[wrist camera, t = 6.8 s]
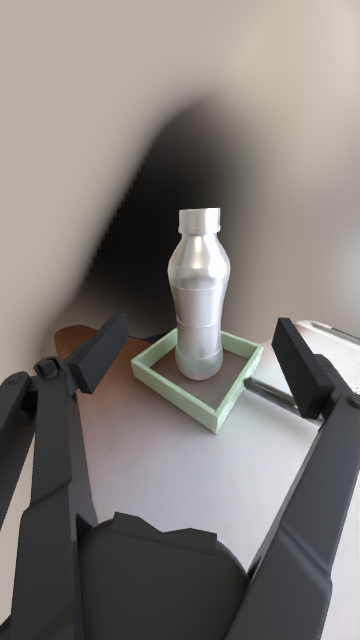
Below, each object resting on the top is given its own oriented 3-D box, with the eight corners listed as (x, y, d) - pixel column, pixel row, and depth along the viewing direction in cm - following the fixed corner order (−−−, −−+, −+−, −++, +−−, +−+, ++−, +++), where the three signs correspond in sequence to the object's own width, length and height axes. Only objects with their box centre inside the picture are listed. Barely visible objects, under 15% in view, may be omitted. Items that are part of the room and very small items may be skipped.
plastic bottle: (231, 370, 26) (254, 206, 16) (195, 396, 23) (194, 210, 13) (200, 347, 31) (203, 208, 20) (167, 366, 28) (149, 211, 17)
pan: (134, 376, 26) (130, 360, 25) (188, 332, 35) (188, 318, 33) (331, 517, 14) (348, 504, 12) (340, 394, 22) (351, 377, 21)
